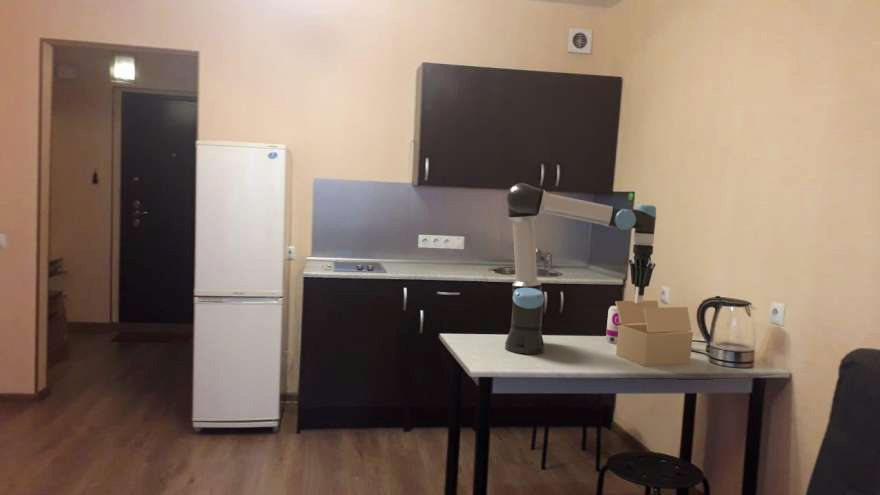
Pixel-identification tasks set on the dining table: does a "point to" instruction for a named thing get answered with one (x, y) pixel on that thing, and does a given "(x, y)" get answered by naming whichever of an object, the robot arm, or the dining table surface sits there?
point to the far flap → (633, 311)
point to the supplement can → (612, 325)
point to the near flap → (667, 319)
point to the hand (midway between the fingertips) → (638, 303)
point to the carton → (653, 346)
